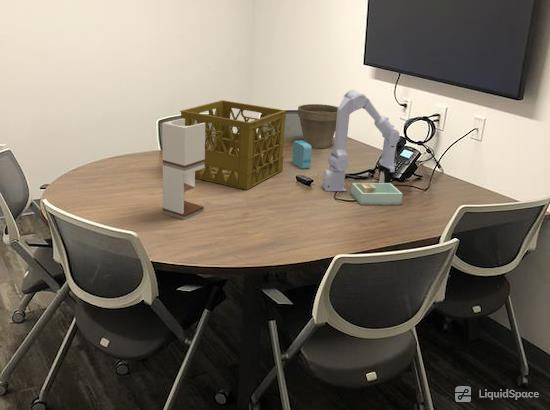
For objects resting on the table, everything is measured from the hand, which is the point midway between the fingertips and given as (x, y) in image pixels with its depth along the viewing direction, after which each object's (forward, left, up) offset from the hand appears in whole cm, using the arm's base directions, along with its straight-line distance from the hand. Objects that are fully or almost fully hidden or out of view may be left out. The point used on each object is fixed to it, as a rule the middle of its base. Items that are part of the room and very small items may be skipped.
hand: (384, 182), depth 266 cm
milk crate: (-69, +20, -2) cm, 71 cm away
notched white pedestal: (-94, -30, -2) cm, 98 cm away
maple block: (-14, -17, -1) cm, 22 cm away
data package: (-32, +32, -2) cm, 46 cm away
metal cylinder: (0, 0, -2) cm, 2 cm away
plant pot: (-14, +73, -2) cm, 74 cm away
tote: (-10, -17, -2) cm, 20 cm away
